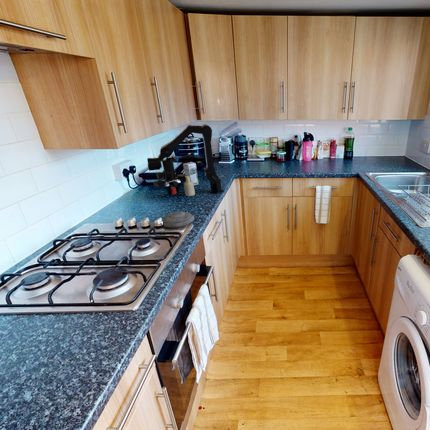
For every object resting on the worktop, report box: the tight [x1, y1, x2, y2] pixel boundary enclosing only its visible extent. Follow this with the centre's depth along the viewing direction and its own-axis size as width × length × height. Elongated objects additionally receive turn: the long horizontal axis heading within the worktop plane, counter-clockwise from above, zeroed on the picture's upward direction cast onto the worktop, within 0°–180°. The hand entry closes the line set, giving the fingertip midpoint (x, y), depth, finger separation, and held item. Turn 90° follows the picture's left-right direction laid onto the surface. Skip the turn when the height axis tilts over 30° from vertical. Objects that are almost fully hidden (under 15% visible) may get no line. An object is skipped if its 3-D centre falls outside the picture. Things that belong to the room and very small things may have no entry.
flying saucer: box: [161, 210, 195, 229], centre depth 135 cm, size 15×15×6 cm
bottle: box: [183, 176, 196, 197], centre depth 170 cm, size 6×6×11 cm
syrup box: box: [182, 161, 200, 186], centre depth 187 cm, size 6×6×14 cm
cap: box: [171, 186, 178, 195], centre depth 167 cm, size 4×4×4 cm
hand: (173, 194), depth 168 cm, fingers closed on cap, 3 cm apart
